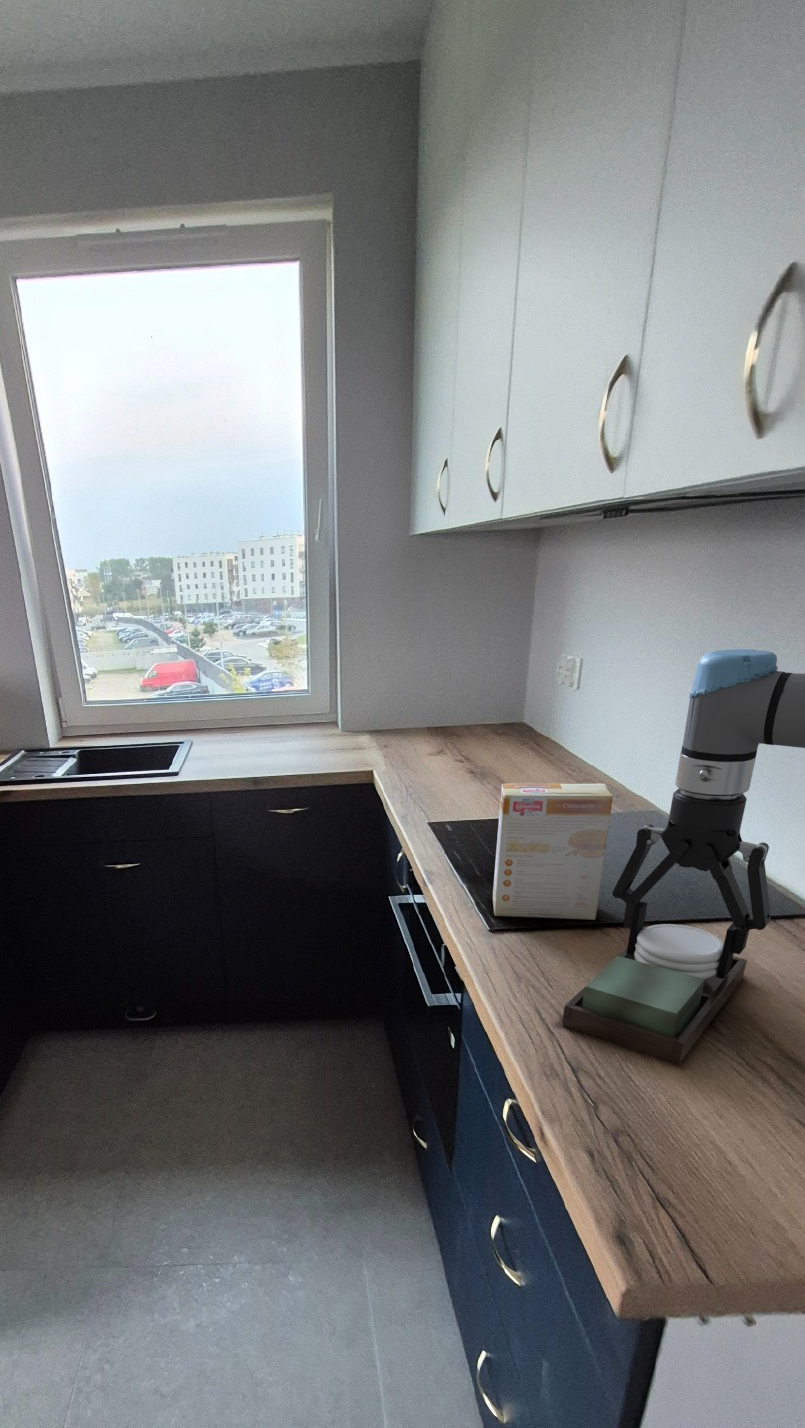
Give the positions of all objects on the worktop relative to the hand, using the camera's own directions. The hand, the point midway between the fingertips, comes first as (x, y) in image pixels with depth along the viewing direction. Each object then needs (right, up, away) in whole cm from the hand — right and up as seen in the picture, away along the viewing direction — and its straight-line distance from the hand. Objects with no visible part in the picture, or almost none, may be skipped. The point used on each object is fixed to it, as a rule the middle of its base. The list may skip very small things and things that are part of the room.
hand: (676, 961), depth 102 cm
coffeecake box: (-9, +7, +24) cm, 26 cm away
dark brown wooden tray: (-4, -5, -3) cm, 7 cm away
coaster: (0, 0, 0) cm, 0 cm away
